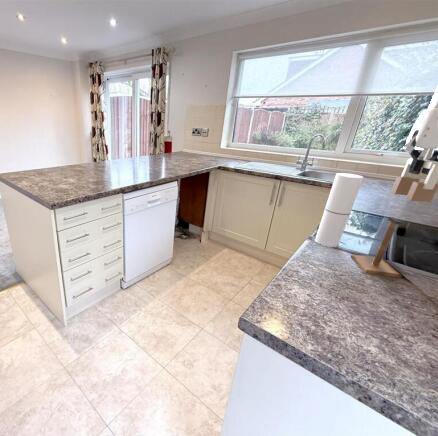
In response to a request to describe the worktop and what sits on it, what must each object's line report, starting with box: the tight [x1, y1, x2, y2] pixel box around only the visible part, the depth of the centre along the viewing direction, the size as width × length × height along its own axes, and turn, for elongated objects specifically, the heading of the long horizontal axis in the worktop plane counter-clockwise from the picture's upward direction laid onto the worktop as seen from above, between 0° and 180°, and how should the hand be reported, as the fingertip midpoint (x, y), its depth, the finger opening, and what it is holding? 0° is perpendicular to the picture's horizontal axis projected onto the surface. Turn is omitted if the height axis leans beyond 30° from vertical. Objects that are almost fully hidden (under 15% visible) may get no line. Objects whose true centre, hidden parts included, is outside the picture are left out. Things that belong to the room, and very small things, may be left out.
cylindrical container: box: [314, 172, 364, 248], centre depth 85 cm, size 7×7×25 cm
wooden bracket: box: [390, 157, 438, 203], centre depth 72 cm, size 5×10×11 cm, turn 167°
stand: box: [350, 216, 404, 279], centre depth 72 cm, size 9×9×16 cm
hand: (420, 173), depth 71 cm, fingers closed on wooden bracket, 2 cm apart
